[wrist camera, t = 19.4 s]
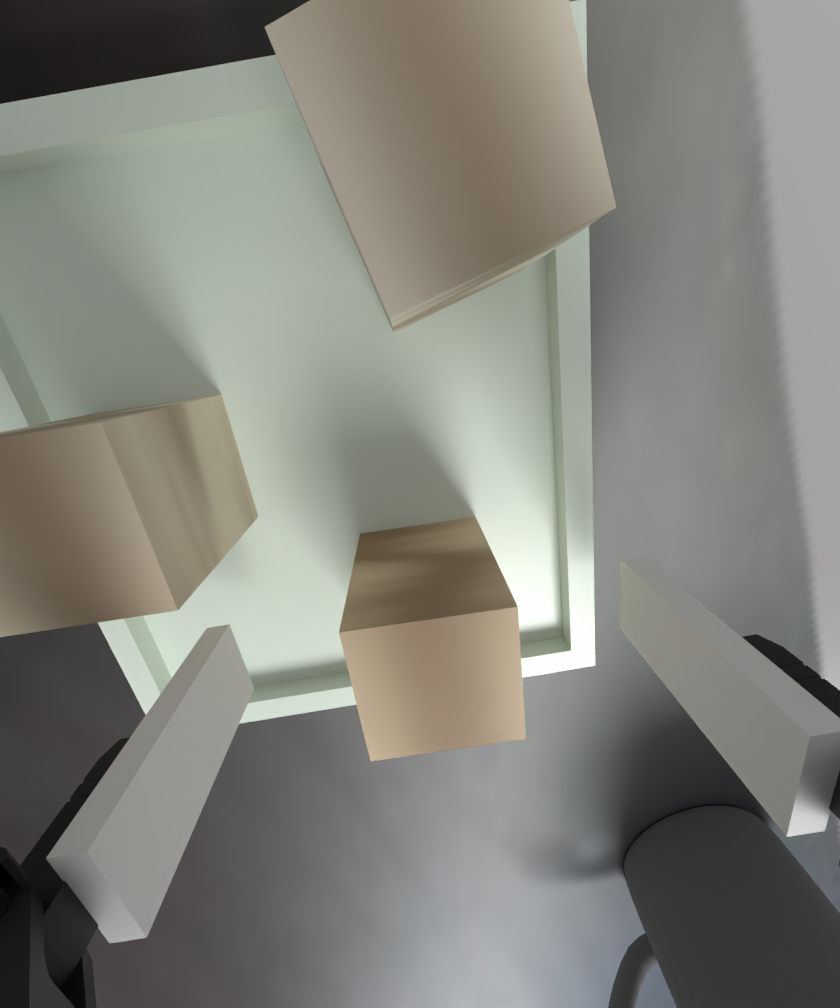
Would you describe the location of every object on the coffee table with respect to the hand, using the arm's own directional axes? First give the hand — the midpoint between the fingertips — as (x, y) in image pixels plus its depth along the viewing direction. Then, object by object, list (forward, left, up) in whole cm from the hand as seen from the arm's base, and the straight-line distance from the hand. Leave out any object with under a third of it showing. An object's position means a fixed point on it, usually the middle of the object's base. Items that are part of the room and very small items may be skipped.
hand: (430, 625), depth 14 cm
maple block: (+2, +12, -3) cm, 13 cm away
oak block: (0, 0, -3) cm, 3 cm away
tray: (-3, +5, -4) cm, 7 cm away
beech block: (-8, +6, -3) cm, 10 cm away
